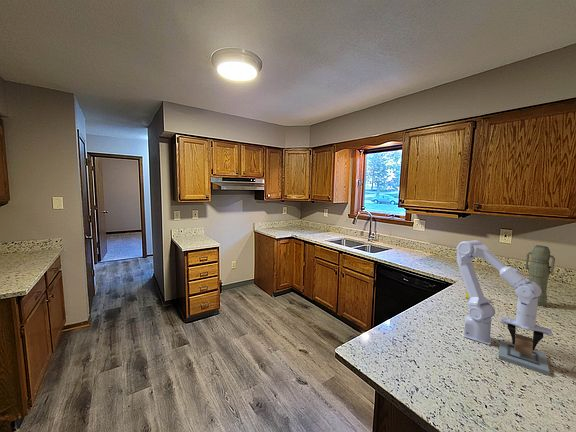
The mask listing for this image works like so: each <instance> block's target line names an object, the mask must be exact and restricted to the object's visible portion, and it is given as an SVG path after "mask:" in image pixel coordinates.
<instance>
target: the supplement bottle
mask: <svg viewBox="0 0 576 432" xmlns="http://www.w3.org/2000/svg"><path fill="white" fill-rule="evenodd" d="M465 299H466V300H467V299H468V300H467V301H469V299H470V297H469V294H468V291H467V289H466V288H465Z"/></svg>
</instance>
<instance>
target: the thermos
mask: <svg viewBox="0 0 576 432" xmlns="http://www.w3.org/2000/svg"><path fill="white" fill-rule="evenodd" d="M530 256H531V257H530ZM530 258H531V261H530V260H529V259H530ZM550 259H551V265H550ZM529 261H530V262H529ZM555 261H556V257H555V256H554V255H551V250H550V248H549V246H548V245H547V246H546V245H540V244H539V245H534V246H533V248H532V250H531V251H529V252H528V253H527V254H526V261H525V269H526V270H528V275H529V276H528V277H529V278H528V279H529V280H530V282H535V283H537V284H538V285H539V286H540V288H541V290H542V293H541V295H539V296H538V306H546V307H547V302H548V294H547V290H548V281H549V278H550V274H553V273H554V268H555ZM529 263H530V264H529ZM535 298H536V297H535ZM538 306H537V307H538Z"/></svg>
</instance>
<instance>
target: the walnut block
mask: <svg viewBox="0 0 576 432" xmlns="http://www.w3.org/2000/svg"><path fill="white" fill-rule="evenodd" d="M532 350H533V337H530V336H525V335H523V334H519V333H516V332H515V345H514V351H517V352H520V353H523V354H527V355H530V356H532Z"/></svg>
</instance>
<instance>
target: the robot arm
mask: <svg viewBox="0 0 576 432" xmlns="http://www.w3.org/2000/svg"><path fill="white" fill-rule="evenodd" d="M455 250H456V259H455V260H456V263H457V266H458V268H459V272H460V274H461V277H462V280H463V282H464V285H465V290H466V289H467V291H468V294H469V297H470V299H469V300H468V302H467V306H468V314H469V315H465V320H464V326H463V331H464V332H463V338H466V339H469V340H473V341H475V342H479V343H482V344H485V345H489V346H491V343H492V342H491V341H492V336H491V332H492V331H491V330H492V317H494V316H495V315H496V310H495V309H496V308H494V306H493V305H492V304H491V302H490V301H489V299H488V298H487V297H485V295H484V292H483V289H482V288H481V284H480V282H479V279H478V277H477V273H476V271H475V269H474V265H473V264H472V263H473V261H474V259H475V257H476V258H480V259H483V260H484V261H485V262H487V263H488V264H489V265H490V266H492V267H493V268H494V269H495V270H497V271H498V272H499V276H500V278H502V279H503V280H504V281H505V282H506V283H507V284H509V286H511V287H512V289H514V291H515V294H516V295H517V304H516V312H515V319H513V318H507V317H501V318H500V324H501V325H507V329H508V331H509V334H510V337H511V342H512V343H511V344H514V345H515V333H516V331H517V329H516V328H520V329H523V330H525V331H531V332H532V339H533V350H535V349H536V347H537V345H538V344H539V342H541V341H542V340H543V338H544V335H547V336H549V337H552V335H553V334H552V333H553V331H552V329H550V328H546V327H544V326H540V325H538V324H536V323H537V316H538V315H537V313H538V296H539V295H541V293H542V290H541V288H540V286H539V285H538V284H537V283H535V282H530V280H529V278H526V277H525V276H524V275H523V274H522V273H520V270H519V269H518V268H514V267H513V266H507V265H506V264H505V263H504V262H503V261H502V260H501V259H499V258H498V257H497V256H496V255H495V254H494V253H493V252H492V251H491V250H489V248H488V247H487V245H485V244H483V243H482V242H481V241H480V240H479V239H478V240H477V239H474V240H467V241H465V240H463V241H461V242H459V243H458V245H457V246H456V248H455ZM535 297H536V298H535ZM535 351H536V350H535Z"/></svg>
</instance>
